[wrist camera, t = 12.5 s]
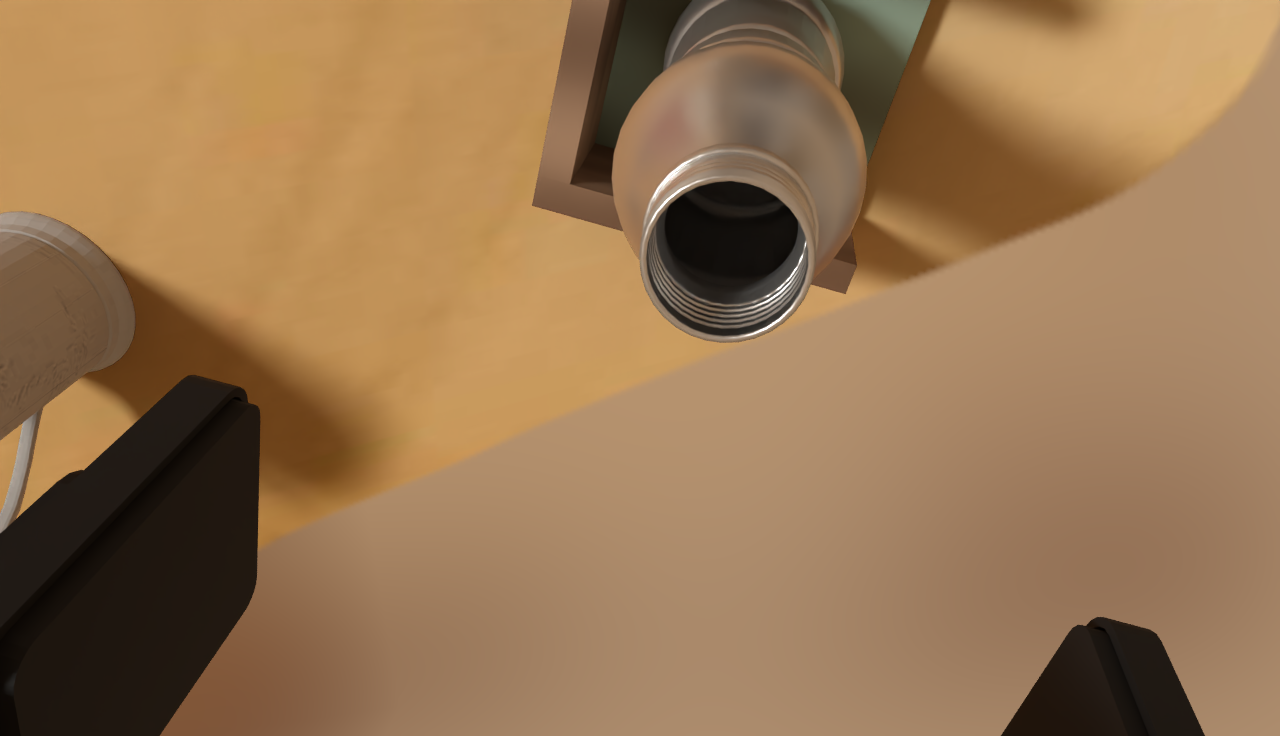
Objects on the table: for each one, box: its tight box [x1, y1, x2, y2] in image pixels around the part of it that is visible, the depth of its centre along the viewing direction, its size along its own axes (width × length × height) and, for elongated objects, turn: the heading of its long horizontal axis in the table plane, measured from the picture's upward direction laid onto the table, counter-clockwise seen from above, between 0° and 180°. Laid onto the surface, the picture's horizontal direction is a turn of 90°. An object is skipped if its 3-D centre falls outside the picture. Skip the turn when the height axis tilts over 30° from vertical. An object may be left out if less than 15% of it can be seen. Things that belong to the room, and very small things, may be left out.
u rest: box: [532, 0, 931, 294], centre depth 34 cm, size 12×12×6 cm
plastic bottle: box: [612, 0, 867, 343], centre depth 28 cm, size 6×7×20 cm
